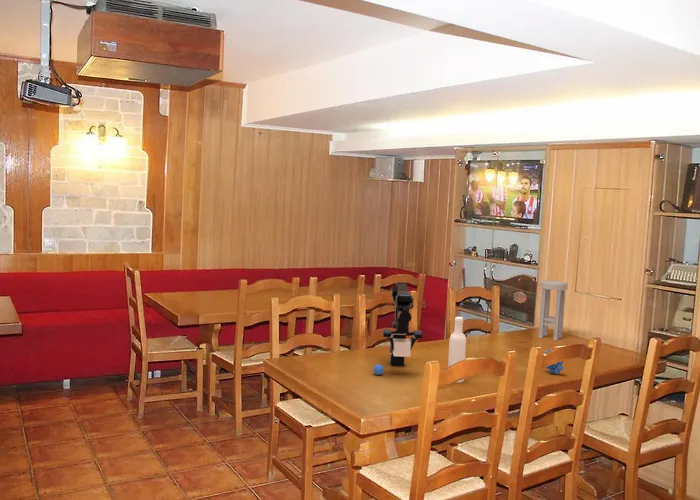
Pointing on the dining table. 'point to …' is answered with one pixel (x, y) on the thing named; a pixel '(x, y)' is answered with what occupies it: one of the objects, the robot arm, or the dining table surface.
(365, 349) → the dining table surface
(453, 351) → the bottle
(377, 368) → the ball
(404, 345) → the pale pink cube
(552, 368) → the grapes
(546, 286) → the stool
